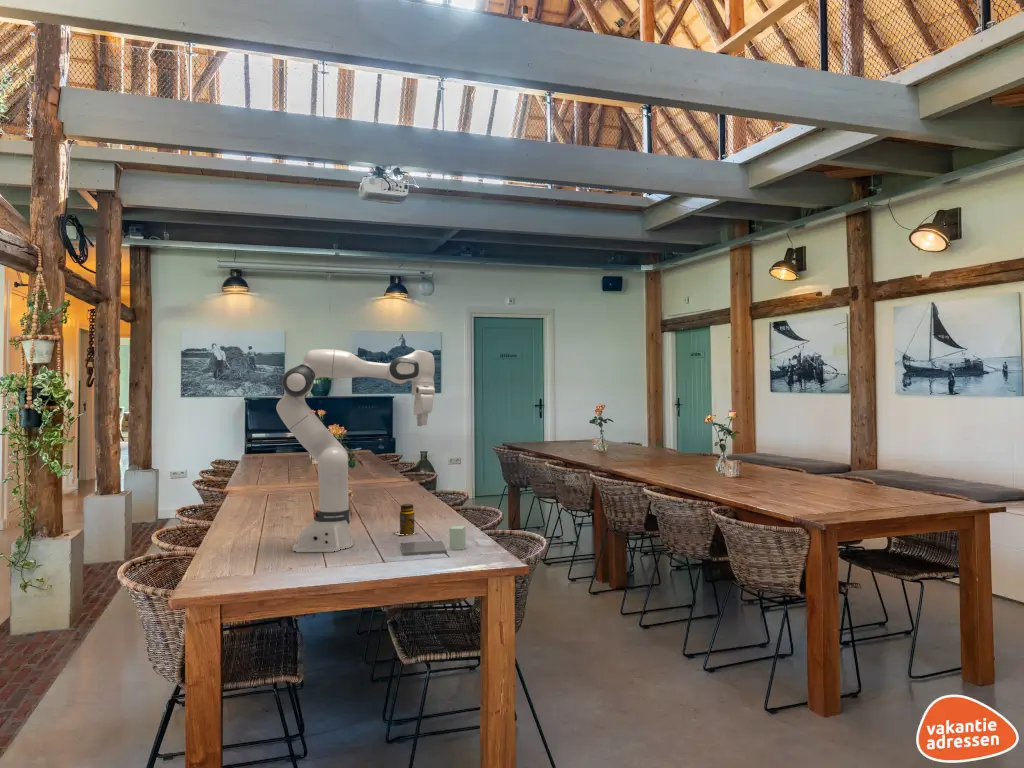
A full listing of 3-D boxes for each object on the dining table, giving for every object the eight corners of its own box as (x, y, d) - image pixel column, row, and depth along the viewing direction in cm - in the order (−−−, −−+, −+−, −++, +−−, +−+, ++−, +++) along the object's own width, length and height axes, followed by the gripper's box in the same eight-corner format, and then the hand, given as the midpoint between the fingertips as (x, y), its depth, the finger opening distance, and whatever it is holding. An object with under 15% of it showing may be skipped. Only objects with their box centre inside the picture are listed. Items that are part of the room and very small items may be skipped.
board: (402, 555, 251) (402, 552, 251) (400, 545, 267) (400, 543, 267) (446, 552, 254) (446, 550, 254) (441, 543, 270) (441, 540, 270)
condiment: (418, 534, 287) (417, 505, 287) (399, 536, 282) (399, 507, 282) (410, 531, 293) (410, 502, 293) (392, 533, 288) (391, 505, 288)
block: (449, 549, 259) (449, 528, 259) (452, 546, 264) (452, 525, 264) (462, 550, 258) (462, 528, 258) (465, 547, 263) (465, 526, 263)
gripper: (410, 392, 282) (409, 426, 281) (419, 388, 263) (418, 424, 261) (425, 393, 284) (424, 427, 283) (436, 389, 265) (435, 425, 263)
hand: (421, 425), depth 272 cm, fingers open, 8 cm apart
